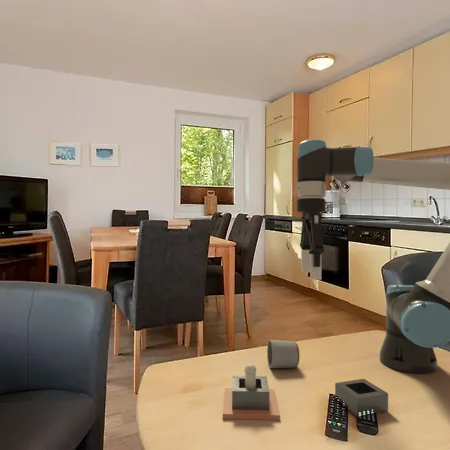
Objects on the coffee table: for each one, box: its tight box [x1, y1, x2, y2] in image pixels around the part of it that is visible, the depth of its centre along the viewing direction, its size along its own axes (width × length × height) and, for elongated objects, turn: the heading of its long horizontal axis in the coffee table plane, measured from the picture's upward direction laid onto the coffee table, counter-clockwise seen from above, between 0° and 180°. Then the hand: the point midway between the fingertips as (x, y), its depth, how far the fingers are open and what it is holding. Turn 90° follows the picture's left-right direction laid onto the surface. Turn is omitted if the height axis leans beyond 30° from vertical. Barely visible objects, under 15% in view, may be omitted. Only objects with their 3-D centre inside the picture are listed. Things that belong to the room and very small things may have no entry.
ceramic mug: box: [266, 339, 300, 369], centre depth 108 cm, size 11×8×8 cm
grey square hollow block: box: [334, 378, 389, 416], centre depth 85 cm, size 8×8×4 cm
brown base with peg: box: [222, 363, 281, 421], centre depth 84 cm, size 12×12×9 cm
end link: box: [231, 375, 270, 410], centre depth 84 cm, size 8×8×4 cm
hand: (310, 275), depth 103 cm, fingers open, 13 cm apart
